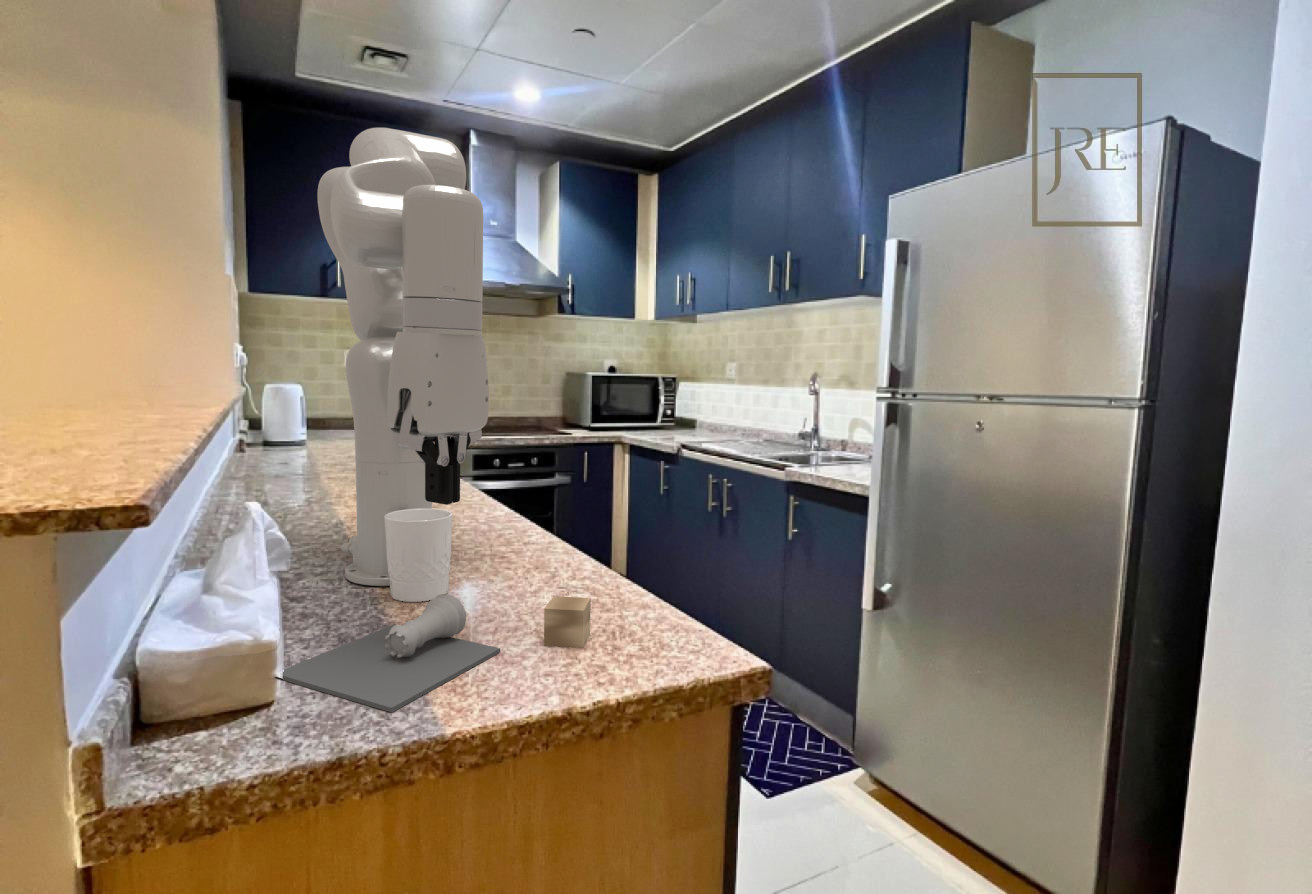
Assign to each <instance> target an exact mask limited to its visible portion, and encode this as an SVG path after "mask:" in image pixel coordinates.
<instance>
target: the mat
mask: <svg viewBox="0 0 1312 894" xmlns="http://www.w3.org/2000/svg"><path fill="white" fill-rule="evenodd" d="M395 625H397V624H396V623H394V624H392V625H391V624H390V625H389V626H386V627H384V628H381V629H378V630H376V631H373V632H372V633H368V634H367V635H364V636H362V637H359V638H357V639H354V640H353V641H349V642H346V643H345V644H343V645H339V646H337V647H335V648H332V649H330V650H328V651H324V652H323V653H320V654H318V655H316V656H313V657H311V658H308V659H306V660H305V659H304V660H303V661H301V662H298V663H296V664H294V665H291V666H288V667H286V668H283V669H284V672H283V680H282V681H285V682H289V683H292V684H294V685H299V686H302V687H305V688H307V689H312V690H315V691H318V692H322V693H325V694H327V695H328V694H329V695H331V696H335V697H339V698H342V699H345V700H349V701H352V702H355V703H359V704H362V705H365V706H368V707H372V708H376V709H379V710H381V711H385V712H388V713H394V712H395V711H397V710H399V709H401V708H403V707H404V706H406V705H408V704H410V703H412V702H413V701H416V700H417V699H419V698H421V697H423V696H424V695H426V694H428V693H431V691H433V690H435V689H437V688H438V686H439V687H440V686H442V685H444V684H446V683H447V682H449V681H451V680H452V679H455V678H456V677H458V676H460V675H462V674H464V673H466V672H468V671H469V670H471V669H473V668H474V666H475V667H476V666H478V665H480V664H482V663H484V662H485V661H487V660H489V659H491V658H492V656H493V657H494V656H496V655H497V654H500V653H501V647H496V646H492V645H487V644H483V643H479V642H474V641H470V640H466V639H461V638H457V637H454V636H453V637H449V638H434V639H431V640H429V641H426V642H425V643H424V645H423V646H422V647H421V648H416V649H415V652H414V654H413V655H412V656H411V657H406V658H405V657H401V658H397V655H396V656H394V657H392V656H391V655H390V653H391V652H392V650H391V649H390V648H389V649H387V650H386V648H385V645H386V644H388V641H385V637H386V636H387V635H389V634H388V633H390V630H391V628H392V627H393V626H395ZM499 652H500V653H499ZM483 661H484V662H483ZM481 662H482V663H481ZM479 663H480V664H479ZM477 664H478V665H477ZM472 667H473V668H472ZM470 668H471V669H470ZM465 671H466V672H465ZM445 682H446V683H445ZM422 695H423V696H422Z"/></svg>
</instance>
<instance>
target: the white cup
mask: <svg viewBox="0 0 1312 894" xmlns="http://www.w3.org/2000/svg"><path fill="white" fill-rule="evenodd" d="M384 520H385V535H386V551H387V562H388V573H389V576H390V586H389V591H390V592H389V593H390V597H391V598H392V599H393V600H396V601H398V602H402V601H403V602H404V603H405V602H406V603H421V602H422V601H423V602H428V601H429V600H430V601H431V600H432V599H434V598H436V597H437V596H438V595H441V594H447V593H448V592H449V586H450V585H449V583H450V574H449V573H450V570H451V556H452V537H453V535H452V533H453V512H452V511H450V510H446V509H441V508H432V509H407V510H399V511H394V512H391V513H388V514H386V515H385V516H384ZM430 601H429V602H430Z"/></svg>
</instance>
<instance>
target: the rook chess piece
mask: <svg viewBox="0 0 1312 894" xmlns="http://www.w3.org/2000/svg"><path fill="white" fill-rule="evenodd" d="M466 621H467V611H466V609H465V606H464V604H463V603H462V602H461V600H460V599H459V598H457V597H455V596H454V595H451V594H441V595H438V596H437V597H436V598H434V599H432V600H430V601H429V602H428V603H426V605H425V607H424V609H423V611H422V613H421V614H420V615H419V616H418V617H416V618H415V619H413V620H408V621H406V622H405V623H403V625H401V624H396V625H395V626H393V627H392V628H391V630H390V633H388V634H389V635H387V636H386V637H385V641H388V644H386V645H385V648H386V650H387V649H389V648H390V649H391V650H392V652H391V653H390V655H391V656H392V657H394V656H396V655H397V658H401V657H405V658H406V657H411V656H412V655H413V654H414V652H415V649H416V648H421V647H422V646H423V645H424V643H425V642H426V641H429V640H431V639H434V638H449V637H453V638H454V636H455V635H459V634H460V633H461V632H462V631H463V630H464V628H465V625H466V623H467V622H466Z"/></svg>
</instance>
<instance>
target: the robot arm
mask: <svg viewBox="0 0 1312 894" xmlns="http://www.w3.org/2000/svg"><path fill="white" fill-rule="evenodd" d="M348 158H349V163H350V166H340V167H335V168H332V169H329V170H327V171H326V172H325V173H323V175H322V176H321V177H320V180H319V182H318V188H317V206H318V208H317V209H318V213H319V220H320V224H321V227H322V232H323V234H324V237H325V240H326V241H327V244H328V246H329V248H330V249H331V251H332V254H333V255H334V256H335V258H336V261H337V262H338V264H339V266H340V268H341V270H342V274H343V280H344V287H345V288H344V289H345V293H346V294H345V295H346V301H347V307H348V313H349V319H350V323H351V327H352V330H353V332H354V334H355V337H357V339H358V340H359V342H356V343H355V344H354V345H353V346H351V347H350V349H349V351H348V352H347V354H346V359H345V374H346V381H347V388H348V393H349V398H350V403H351V409H352V417H353V418H352V419H353V429H354V449H355V450H354V451H355V453H354V454H355V458H354V459H355V494H356V496H355V497H356V498H355V499H356V501H355V502H356V535H353V536H352V535H351V537H350V538H349V540H348V542H344V543H342V545H341V551H342V552H343V553H347V554H352V562H351V563H350V564H348V565H346V567H345V569H344V573H345V574H344V577H345V579H346V580H348V581H349V582H352V583H354V584H358V585H362V586H371V587H374V586H375V587H376V586H377V587H390V576H389V573H388V562H387V551H386V535H385V520H384V516H385V515H386V514H388V513H391V512H394V511H399V510H407V509H433V503H434V504H439V505H444V506H448V505H452V504H455V503H458V502H460V500H461V464H463V463H464V462H465V459H466V453H467V449H468V447H470V445H471V444H473V443H475V442H477V441H479V440H481V438H482V437H483V436H482V435H483V431H482V429H483V428H484V427H485V426H486V425H487V423H488V421H489V408H490V400H489V399H490V389H489V388H490V387H489V372H488V360H487V352H486V345H485V338H484V336H483V287H484V286H483V285H484V284H483V281H484V275H483V273H484V269H483V268H484V207H483V204H482V201H481V199H480V198H479V197H478V196H477V195H476V194H475V193H474V192H471V191H469V190H466V183H467V168H466V162H465V158H464V156H463V154H462V152H461V151H460V149H459V148H458V147H457V145H455V144H454V142H451V141H450V140H448V139H445V138H442V137H437V136H431V135H426V134H423V133H417V132H412V131H407V130H400V129H394V128H389V127H370V128H367V129H365V130H363V131H361V132H360V133H358V135H356V136H355V137H354V139H353V141H352V143H351V145H350V148H349V157H348Z"/></svg>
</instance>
